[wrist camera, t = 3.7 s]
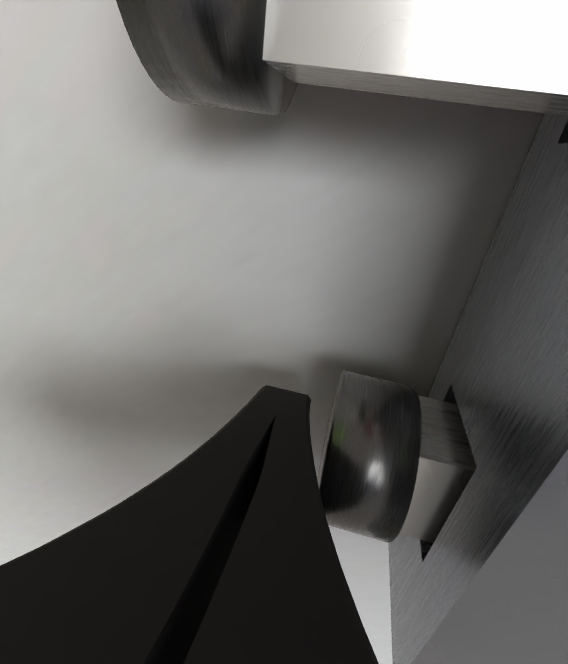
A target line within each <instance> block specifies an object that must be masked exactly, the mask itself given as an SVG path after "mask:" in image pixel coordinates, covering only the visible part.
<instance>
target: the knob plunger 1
mask: <svg viewBox="0 0 568 664" xmlns="http://www.w3.org/2000/svg"><path fill="white" fill-rule="evenodd" d="M116 1H117V4H118V7H119V10H120V13H121V16H122V19H123V22H124V25H125V27H126V30H127V32H128V35H129V37H130V40H131V42H132V44H133V47H134V49H135V51H136V53H137V55H138V57H139V59H140V61H141V63H142V65H143V66H144V68H145V69H146V71H147V73H148V74H149V76H150V78H151V79H152V80H153V81H154V83H155V84H156V85H157V87H158V88H159V89H160V90H161V91H162V92H163V93H164V94H165V95H166V96H168V97H169V98H171V99H172V100H175V101H177V102H181V103H188V104H196V105H203V106H211V107H218V108H225V109H233V110H240V111H247V112H255V113H262V114H270V115H281V114H283V113H284V112H285V110H286V109H287V107H288V106H289V104H290V102H291V99H292V97H293V94H294V91H295V88H296V85H297V83H301V84H310V85H318V86H326V87H334V88H342V89H351V90H359V91H367V92H375V93H383V94H392V95H400V96H408V97H416V98H424V99H433V100H441V101H449V102H457V103H465V104H474V105H482V106H490V107H498V108H506V109H515V110H523V111H531V112H539V113H547V114H555V115H564V116H568V0H116Z"/></svg>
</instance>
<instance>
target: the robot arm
mask: <svg viewBox="0 0 568 664" xmlns="http://www.w3.org/2000/svg"><path fill="white" fill-rule="evenodd" d="M310 402H311V399H310V398H309V396H308V395H305V394H301V393H297V392H292V391H288V390H284V389H280V388H276V387H272V386H268V385H266V386H264V387H262V388H261V389H260V391H259V392H258V393H257V394H256V395H255V396H254V397H253V398H252V400H251V401H250V402H249V403H248V404H247V405H246V406H245V407H244V408H243V409H242V410H241V411H240V412H239V413H238V414H237V415H236V416H235V417H234V418H232V419H231V420H230V421H229V422H228V423H227V424H226V425H225V426H224V427H223V428H222V429H221V430H219V431H218V432H217V433H216V434H215V435H214V436H213V437H211V438H210V439H209V440H208V441H207V442H205V443H204V444H203V445H202V446H200V447H199V448H198V449H197V450H196V451H194V452H193V453H192V454H191V455H189V456H188V457H187V458H186V459H184V460H183V461H182V462H180V463H179V464H178V465H176V466H175V467H174V468H172V469H171V470H169V471H168V472H167V473H165V474H164V475H162V476H161V477H159V478H158V479H156V480H155V481H154V482H152V483H151V484H149V485H148V486H146V487H144V488H143V489H141V490H140V491H138V492H137V493H135V494H133V495H132V496H130V497H129V498H127V499H126V500H124V501H122V502H121V503H119V504H117V505H116V506H114V507H112V508H111V509H109V510H107V511H106V512H104V513H102V514H100V515H99V516H97V517H95V518H93V519H91V520H89V521H87V522H86V523H84V524H82V525H80V526H78V527H76V528H75V529H73V530H71V531H69V532H67V533H65V534H63V535H62V536H60V537H58V538H56V539H54V540H52V541H51V542H49V543H47V544H45V545H43V546H41V547H39V548H37V549H35V550H33V551H30V552H28V553H26V554H24V555H22V556H20V557H18V558H16V559H13V560H11V561H9V562H7V563H5V564H3V565H1V566H0V664H379V663H378V661H377V658H376V656H375V654H374V651H373V649H372V646H371V644H370V641H369V639H368V637H367V634H366V632H365V629H364V627H363V624H362V622H361V619H360V616H359V614H358V611H357V608H356V606H355V603H354V600H353V598H352V595H351V592H350V589H349V587H348V584H347V581H346V579H345V576H344V573H343V570H342V568H341V565H340V562H339V558H338V555H337V552H336V549H335V546H334V543H333V540H332V536H331V533H330V529H329V526H328V522H327V519H326V515H325V511H324V507H323V503H322V499H321V495H320V490H319V486H318V481H317V477H316V471H315V466H314V459H313V452H312V446H311V437H310V423H309V411H310Z"/></svg>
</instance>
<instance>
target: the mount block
mask: <svg viewBox="0 0 568 664" xmlns="http://www.w3.org/2000/svg"><path fill="white" fill-rule="evenodd" d="M427 398H432V399H436V400H440V401H444V402H449V403H453V404H457V405H458V408H459V411H460V414H461V418H462V421H463V424H464V427H465V431H466V434H467V437H468V440H469V443H470V447H471V450H472V453H473V456H474V459H475V463H476V466H477V468H476V470H475V472H474V473H473V475H472V477H471V479H470V480H469V482H468V484H467V486H466V487H465V489H464V491H463V493H462V494H461V496H460V498H459V500H458V501H457V503H456V505H455V507H454V508H453V510H452V512H451V514H450V515H449V517H448V519H447V521H446V522H445V524H444V526H443V528H442V529H441V531H440V533H439V535H438V536H437V538H436V540H435V542H434V543H431V542H427V541H424V540H420V539H417V538H413V537H410V536H406V535H403V534H399V535H398V536H397V537H396V539H395V540H394V541H392V542H390V543H389V566H390V597H391V627H392V657H393V664H568V116H564V115H555V114H547V113H545V114H544V116H543V119H542V121H541V124H540V126H539V129H538V131H537V133H536V136H535V138H534V141H533V143H532V146H531V148H530V150H529V153H528V155H527V158H526V160H525V162H524V165H523V167H522V170H521V172H520V175H519V177H518V179H517V182H516V184H515V187H514V189H513V192H512V194H511V196H510V199H509V201H508V204H507V206H506V208H505V211H504V213H503V216H502V218H501V221H500V223H499V225H498V228H497V230H496V233H495V235H494V238H493V240H492V242H491V245H490V247H489V250H488V252H487V255H486V257H485V259H484V262H483V264H482V267H481V269H480V271H479V274H478V276H477V279H476V281H475V284H474V286H473V288H472V291H471V293H470V296H469V298H468V301H467V303H466V305H465V308H464V310H463V313H462V315H461V318H460V320H459V322H458V325H457V327H456V330H455V332H454V334H453V337H452V339H451V342H450V344H449V347H448V349H447V351H446V354H445V356H444V359H443V361H442V364H441V366H440V368H439V371H438V373H437V376H436V378H435V380H434V383H433V385H432V388H431V390H430V393H429V395H428V397H427Z"/></svg>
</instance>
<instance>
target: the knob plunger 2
mask: <svg viewBox="0 0 568 664" xmlns="http://www.w3.org/2000/svg"><path fill="white" fill-rule="evenodd" d="M476 468H477V466H476V463H475V459H474V456H473V453H472V450H471V447H470V443H469V440H468V437H467V434H466V431H465V427H464V424H463V421H462V418H461V414H460V411H459V408H458V405H457V404H453V403H449V402H444V401H440V400H436V399H432V398H427V397H423V396H419V395H418V392H417V390H416V389H415V387H413V386H410V385H406V384H401V383H397V382H392V381H388V380H384V379H379V378H375V377H371V376H366V375H362V374H358V373H353V372H349V371H345V370H343V371H342V373H341V375H340V379H339V382H338V386H337V390H336V394H335V398H334V402H333V406H332V410H331V415H330V419H329V423H328V428H327V433H326V437H325V442H324V447H323V452H322V457H321V462H320V467H319V472H318V478H317V481H318V486H319V490H320V495H321V499H322V503H323V507H324V511H325V515H326V519H327V522H328V525H330V526H333V527H337V528H340V529H344V530H347V531H351V532H354V533H357V534H361V535H364V536H368V537H371V538H375V539H378V540H382V541H385V542H389V543H390V542H392V541H394V540H395V539H396V537H397V536H398V535H399V534H403V535H406V536H410V537H413V538H417V539H420V540H424V541H427V542H431V543H434V542H435V540H436V538H437V536H438V535H439V533H440V531H441V529H442V528H443V526H444V524H445V522H446V521H447V519H448V517H449V515H450V514H451V512H452V510H453V508H454V507H455V505H456V503H457V501H458V500H459V498H460V496H461V494H462V493H463V491H464V489H465V487H466V486H467V484H468V482H469V480H470V479H471V477H472V475H473V473H474V472H475V470H476Z"/></svg>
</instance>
